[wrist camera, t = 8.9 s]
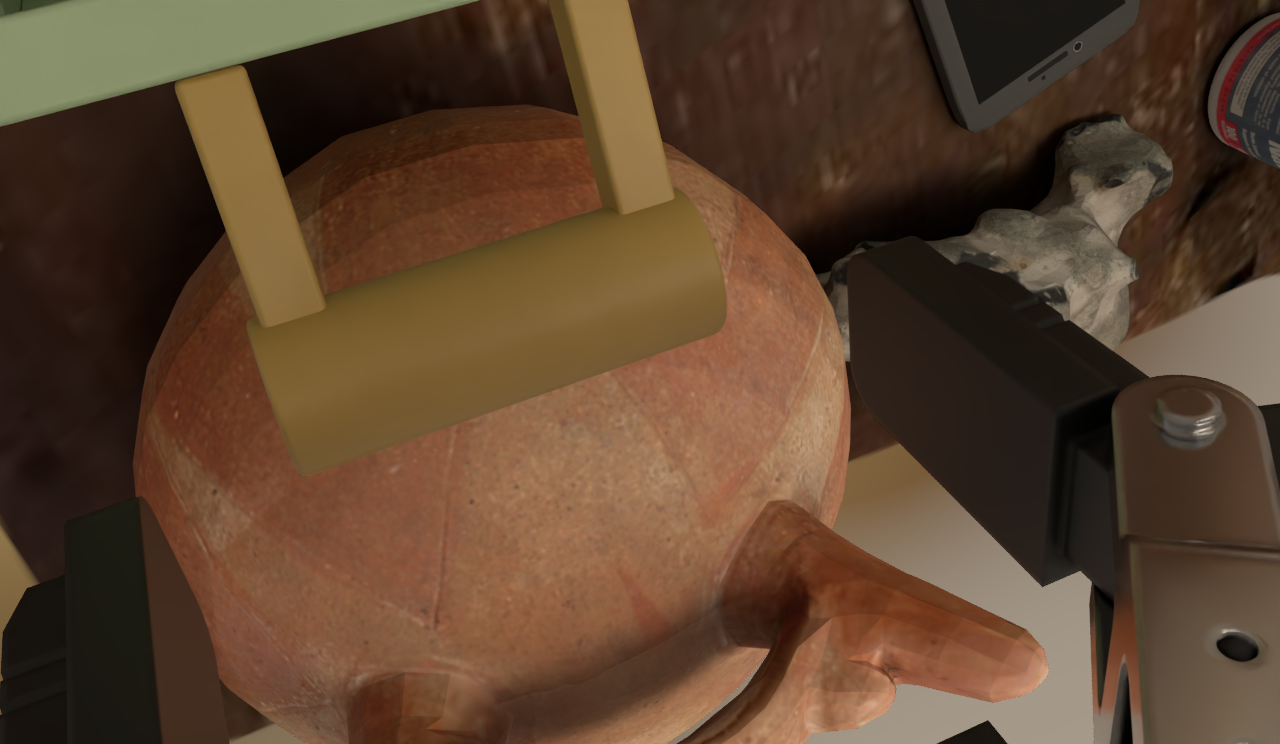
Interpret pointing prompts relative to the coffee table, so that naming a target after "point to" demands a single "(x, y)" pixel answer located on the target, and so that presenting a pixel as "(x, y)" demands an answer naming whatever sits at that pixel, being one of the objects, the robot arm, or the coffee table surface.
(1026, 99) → the cell phone
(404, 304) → the chest lid
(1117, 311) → the decorative stone
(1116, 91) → the coffee table surface
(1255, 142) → the pill bottle
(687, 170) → the jug
